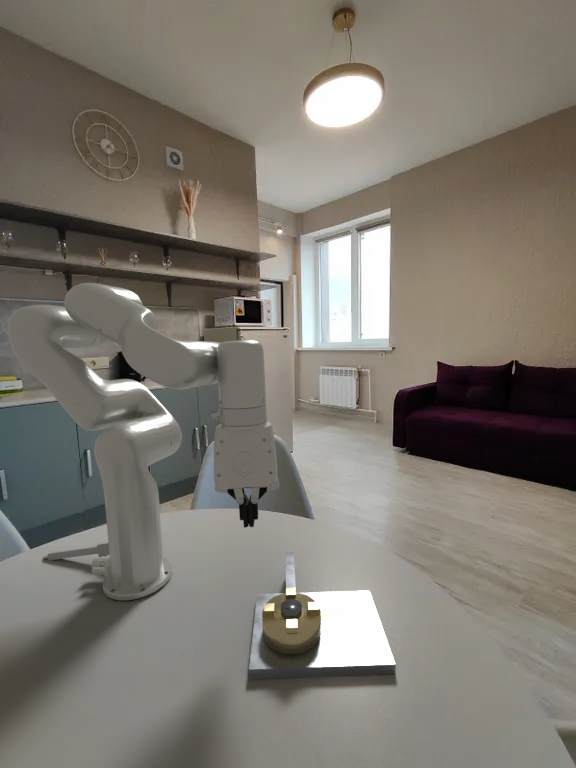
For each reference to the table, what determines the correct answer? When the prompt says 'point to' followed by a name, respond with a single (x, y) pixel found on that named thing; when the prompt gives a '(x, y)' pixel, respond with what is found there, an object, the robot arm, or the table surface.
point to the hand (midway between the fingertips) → (249, 523)
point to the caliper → (80, 552)
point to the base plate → (328, 641)
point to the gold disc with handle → (291, 617)
